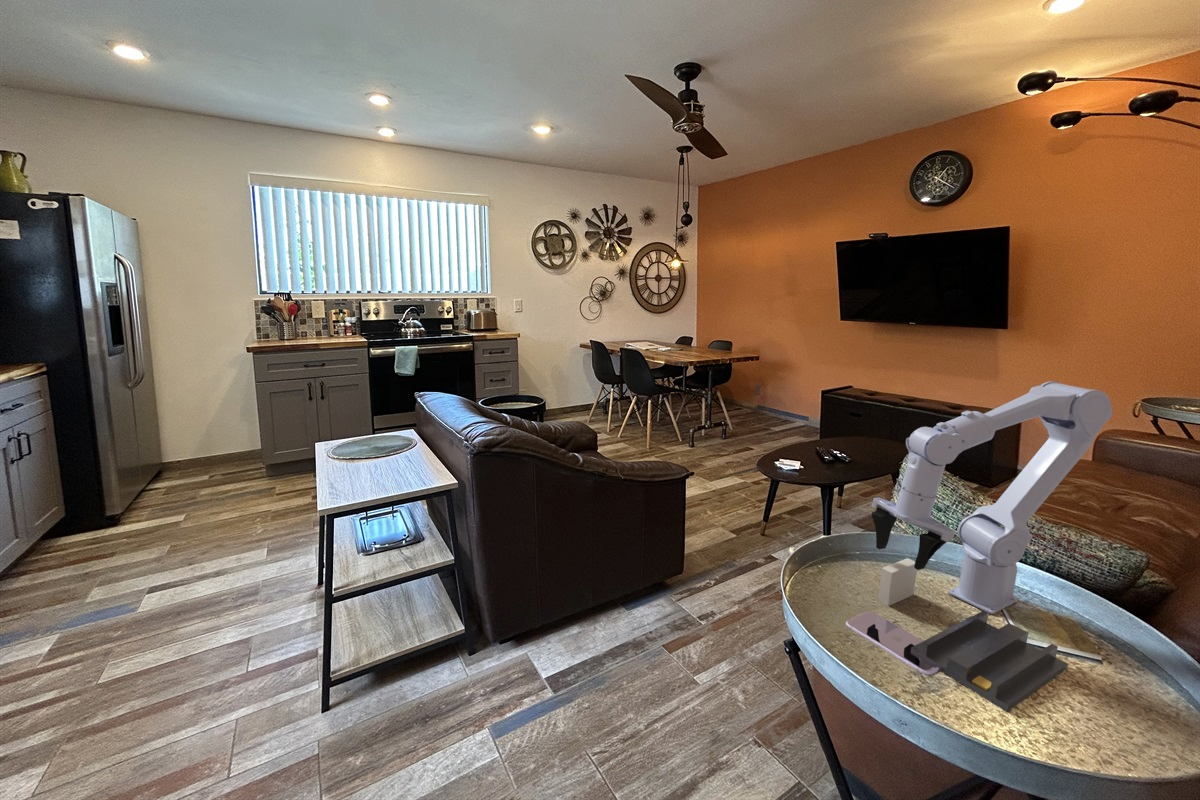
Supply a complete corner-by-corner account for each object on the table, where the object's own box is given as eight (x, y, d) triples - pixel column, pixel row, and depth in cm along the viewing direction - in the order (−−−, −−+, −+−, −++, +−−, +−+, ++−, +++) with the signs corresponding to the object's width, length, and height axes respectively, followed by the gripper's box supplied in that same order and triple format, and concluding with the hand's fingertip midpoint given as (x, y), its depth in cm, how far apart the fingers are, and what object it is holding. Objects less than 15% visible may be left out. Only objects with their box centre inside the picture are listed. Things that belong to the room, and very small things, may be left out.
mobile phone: (869, 608, 97) (955, 656, 84) (869, 613, 97) (954, 662, 84) (843, 621, 93) (927, 673, 81) (842, 625, 94) (927, 678, 81)
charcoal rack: (971, 620, 94) (973, 605, 93) (1067, 669, 82) (1070, 652, 81) (910, 652, 86) (912, 636, 85) (1007, 711, 74) (1010, 693, 73)
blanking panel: (903, 589, 104) (907, 558, 103) (913, 594, 102) (917, 562, 101) (878, 600, 100) (881, 568, 99) (887, 606, 99) (891, 573, 97)
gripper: (869, 477, 100) (852, 541, 103) (946, 509, 88) (925, 581, 91) (891, 476, 104) (874, 538, 106) (968, 506, 91) (947, 576, 94)
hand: (899, 557), depth 99 cm, fingers open, 7 cm apart
